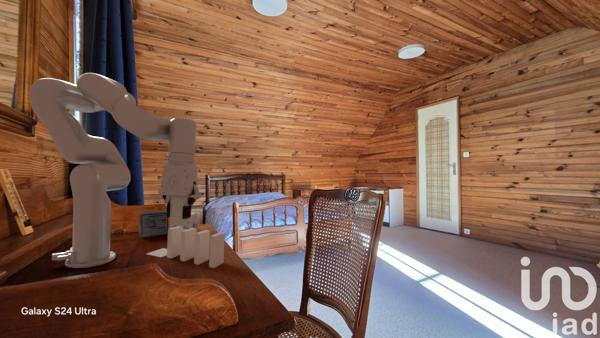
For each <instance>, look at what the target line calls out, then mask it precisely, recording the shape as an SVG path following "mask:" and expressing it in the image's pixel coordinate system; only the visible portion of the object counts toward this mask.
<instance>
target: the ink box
mask: <svg viewBox="0 0 600 338" xmlns="http://www.w3.org/2000/svg"><path fill="white" fill-rule="evenodd" d="M198 215H199V213H198V212H193V211H191V217H190V218H187V226H184V227H183V230H187V229H190V228H196V233H198V221H199V219H198V218H199V217H198ZM173 227H177V226H173Z"/></svg>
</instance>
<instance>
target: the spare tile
mask: <svg viewBox="0 0 600 338" xmlns="http://www.w3.org/2000/svg"><path fill="white" fill-rule="evenodd" d="M183 206H185V204H184V199H183V197H181V196H171V200H170V217H169V219H168V226H169V225H173V226H180V227H184V226H187V219H182V210H183Z"/></svg>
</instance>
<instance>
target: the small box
mask: <svg viewBox="0 0 600 338" xmlns="http://www.w3.org/2000/svg"><path fill="white" fill-rule="evenodd" d="M166 211H167V209H166V210H165V209H162V210H152V211H140V212H139V214H138V215H139V219H138V221H139V223H138V236H139V238H140V239H148V238H155V237H164V236H168V229H169V217H166Z"/></svg>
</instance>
